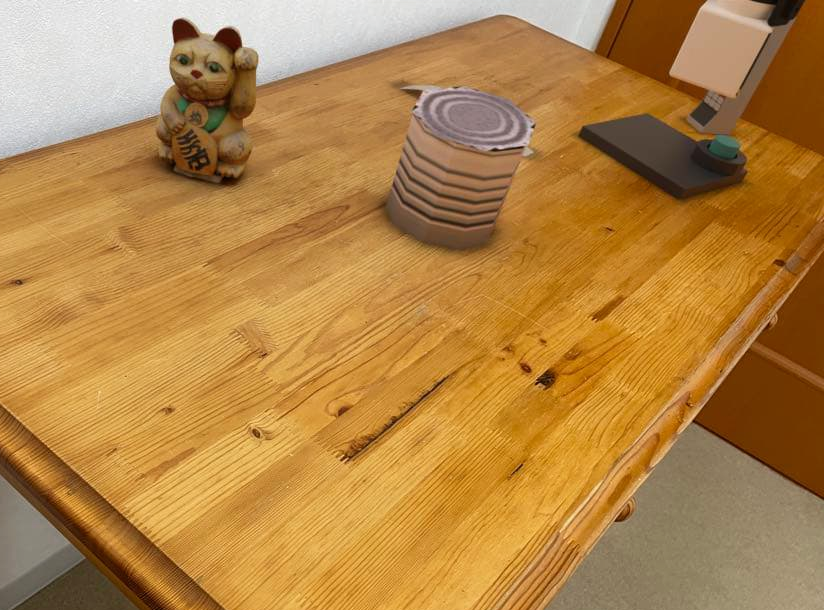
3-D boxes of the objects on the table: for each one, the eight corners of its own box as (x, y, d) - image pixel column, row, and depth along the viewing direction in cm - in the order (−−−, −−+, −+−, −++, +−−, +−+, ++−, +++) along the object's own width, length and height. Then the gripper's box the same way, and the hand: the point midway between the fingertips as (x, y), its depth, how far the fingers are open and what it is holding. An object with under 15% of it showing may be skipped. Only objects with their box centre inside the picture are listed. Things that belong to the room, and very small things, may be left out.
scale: (741, 184, 107) (756, 159, 105) (677, 203, 100) (692, 176, 98) (641, 126, 116) (653, 101, 113) (576, 139, 109) (587, 113, 106)
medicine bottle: (734, 100, 87) (801, -24, 79) (667, 76, 89) (725, -48, 81) (745, 82, 92) (809, -37, 84) (681, 59, 94) (737, -59, 86)
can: (514, 245, 86) (560, 136, 78) (426, 262, 81) (466, 146, 73) (447, 187, 93) (484, 81, 85) (362, 199, 88) (393, 87, 79)
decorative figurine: (146, 176, 83) (156, 20, 73) (163, 139, 90) (175, -10, 79) (242, 197, 84) (266, 44, 74) (253, 158, 90) (277, 13, 80)
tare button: (738, 158, 105) (746, 145, 104) (724, 162, 104) (732, 148, 102) (717, 146, 107) (724, 133, 106) (703, 149, 105) (710, 136, 104)
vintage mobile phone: (684, 123, 119) (786, -72, 102) (712, 125, 121) (818, -67, 104) (699, 136, 117) (806, -62, 100) (728, 137, 118) (838, -57, 101)
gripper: (967, -173, 71) (838, 40, 83) (783, -224, 80) (691, -24, 92) (931, -178, 67) (801, 47, 79) (742, -230, 76) (651, -21, 88)
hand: (743, 7), depth 85 cm, fingers closed on medicine bottle, 7 cm apart
